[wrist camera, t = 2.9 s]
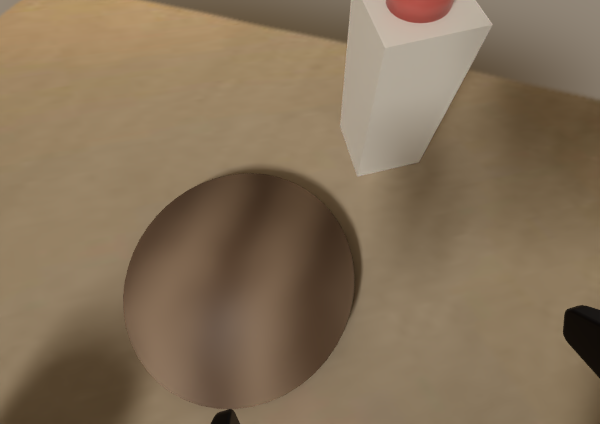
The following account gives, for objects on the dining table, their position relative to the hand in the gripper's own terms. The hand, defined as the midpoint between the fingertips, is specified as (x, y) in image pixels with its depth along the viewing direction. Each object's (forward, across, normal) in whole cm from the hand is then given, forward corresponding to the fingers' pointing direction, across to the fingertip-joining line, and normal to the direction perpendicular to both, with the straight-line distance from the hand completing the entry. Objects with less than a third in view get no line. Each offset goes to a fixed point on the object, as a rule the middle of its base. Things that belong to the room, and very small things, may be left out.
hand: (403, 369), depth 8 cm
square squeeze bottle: (+20, -7, -1) cm, 21 cm away
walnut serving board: (+14, +6, +4) cm, 16 cm away
